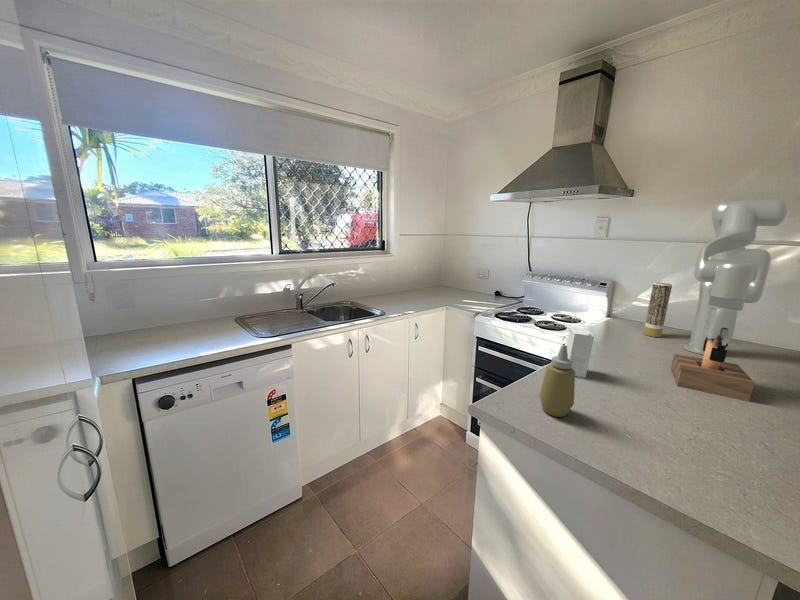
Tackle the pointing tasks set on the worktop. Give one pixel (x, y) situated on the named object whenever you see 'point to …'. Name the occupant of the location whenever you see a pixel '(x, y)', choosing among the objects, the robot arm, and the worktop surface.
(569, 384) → the squeeze bottle
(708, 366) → the peg
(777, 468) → the worktop surface
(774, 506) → the worktop surface
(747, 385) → the socket block
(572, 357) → the skincare box
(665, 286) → the brown textured cylinder
